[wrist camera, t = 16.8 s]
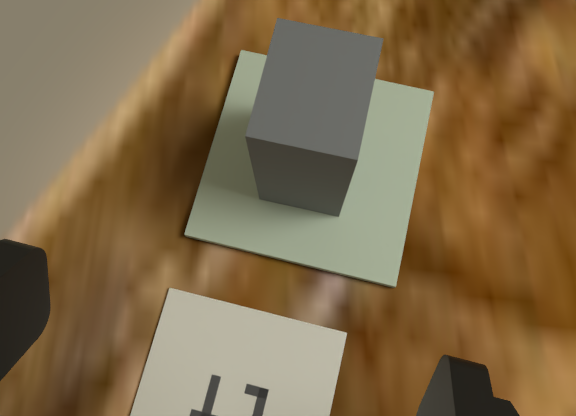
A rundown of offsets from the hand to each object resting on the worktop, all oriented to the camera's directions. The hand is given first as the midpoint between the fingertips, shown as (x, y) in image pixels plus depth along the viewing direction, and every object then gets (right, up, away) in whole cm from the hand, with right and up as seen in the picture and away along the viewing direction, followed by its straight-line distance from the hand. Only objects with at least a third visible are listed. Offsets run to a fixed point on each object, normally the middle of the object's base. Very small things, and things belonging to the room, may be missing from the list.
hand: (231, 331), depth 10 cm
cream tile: (-2, -8, +17) cm, 19 cm away
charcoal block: (+2, +5, +20) cm, 21 cm away
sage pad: (+3, +5, +20) cm, 21 cm away
